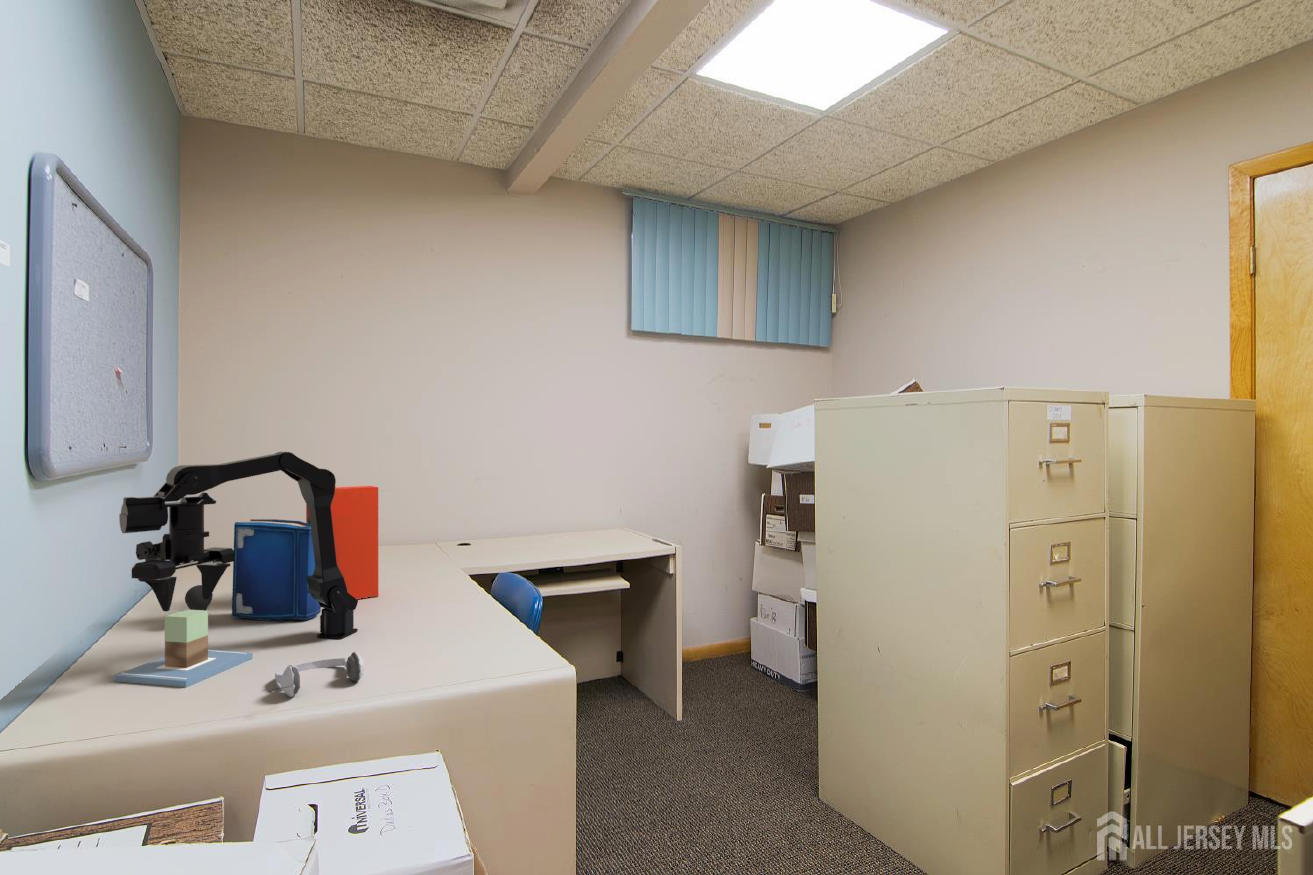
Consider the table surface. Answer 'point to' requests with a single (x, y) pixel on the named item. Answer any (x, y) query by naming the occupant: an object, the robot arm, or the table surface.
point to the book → (273, 570)
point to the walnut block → (186, 653)
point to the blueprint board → (183, 670)
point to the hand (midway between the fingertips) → (186, 605)
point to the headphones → (291, 677)
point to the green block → (186, 626)
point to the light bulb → (196, 599)
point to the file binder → (356, 538)
